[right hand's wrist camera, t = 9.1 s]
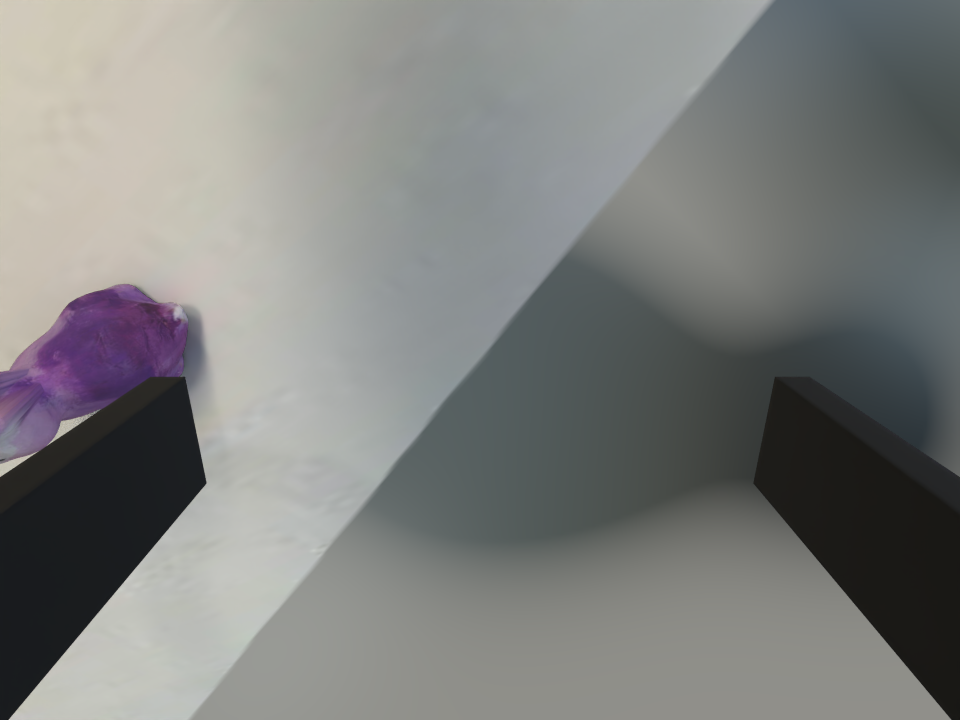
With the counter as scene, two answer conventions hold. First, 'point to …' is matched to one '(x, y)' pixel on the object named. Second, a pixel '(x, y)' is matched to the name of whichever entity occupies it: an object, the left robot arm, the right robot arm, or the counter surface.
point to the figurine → (87, 364)
